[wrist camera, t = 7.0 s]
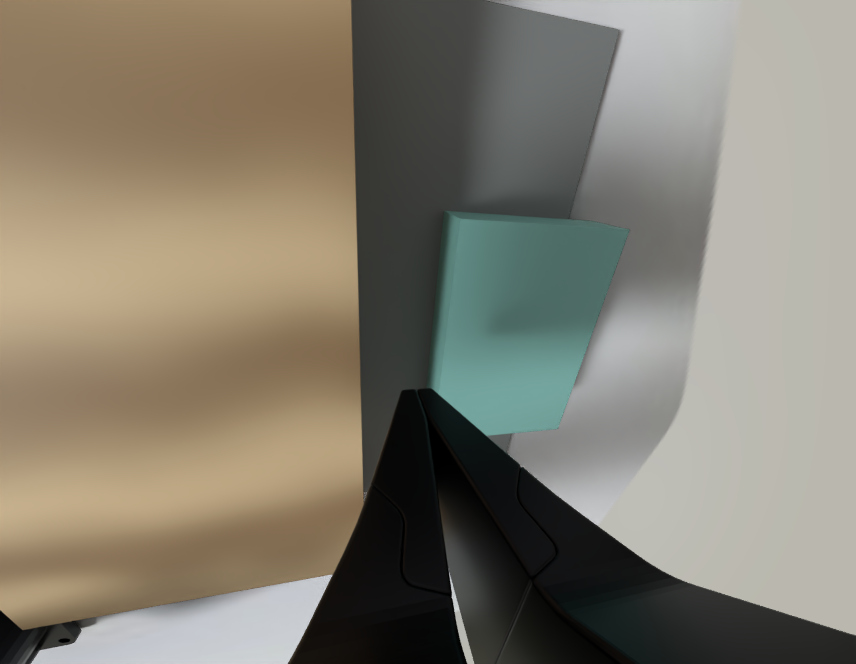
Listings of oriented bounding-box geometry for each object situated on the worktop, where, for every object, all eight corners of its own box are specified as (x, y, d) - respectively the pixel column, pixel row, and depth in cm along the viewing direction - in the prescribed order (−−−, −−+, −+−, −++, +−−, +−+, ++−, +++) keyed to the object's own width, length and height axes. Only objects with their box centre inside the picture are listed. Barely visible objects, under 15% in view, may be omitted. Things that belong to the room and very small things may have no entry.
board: (363, 487, 17) (364, 568, 14) (101, 520, 15) (22, 630, 11) (350, -23, 8) (346, -164, 5) (-342, -170, 6) (-1499, -731, 2)
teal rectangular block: (432, 440, 13) (424, 409, 15) (557, 429, 15) (536, 401, 16) (460, 218, 9) (444, 210, 11) (630, 229, 11) (591, 220, 12)
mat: (498, 470, 19) (500, 474, 19) (363, 487, 17) (363, 492, 17) (612, 33, 10) (619, 29, 10) (350, -23, 8) (350, -29, 8)
